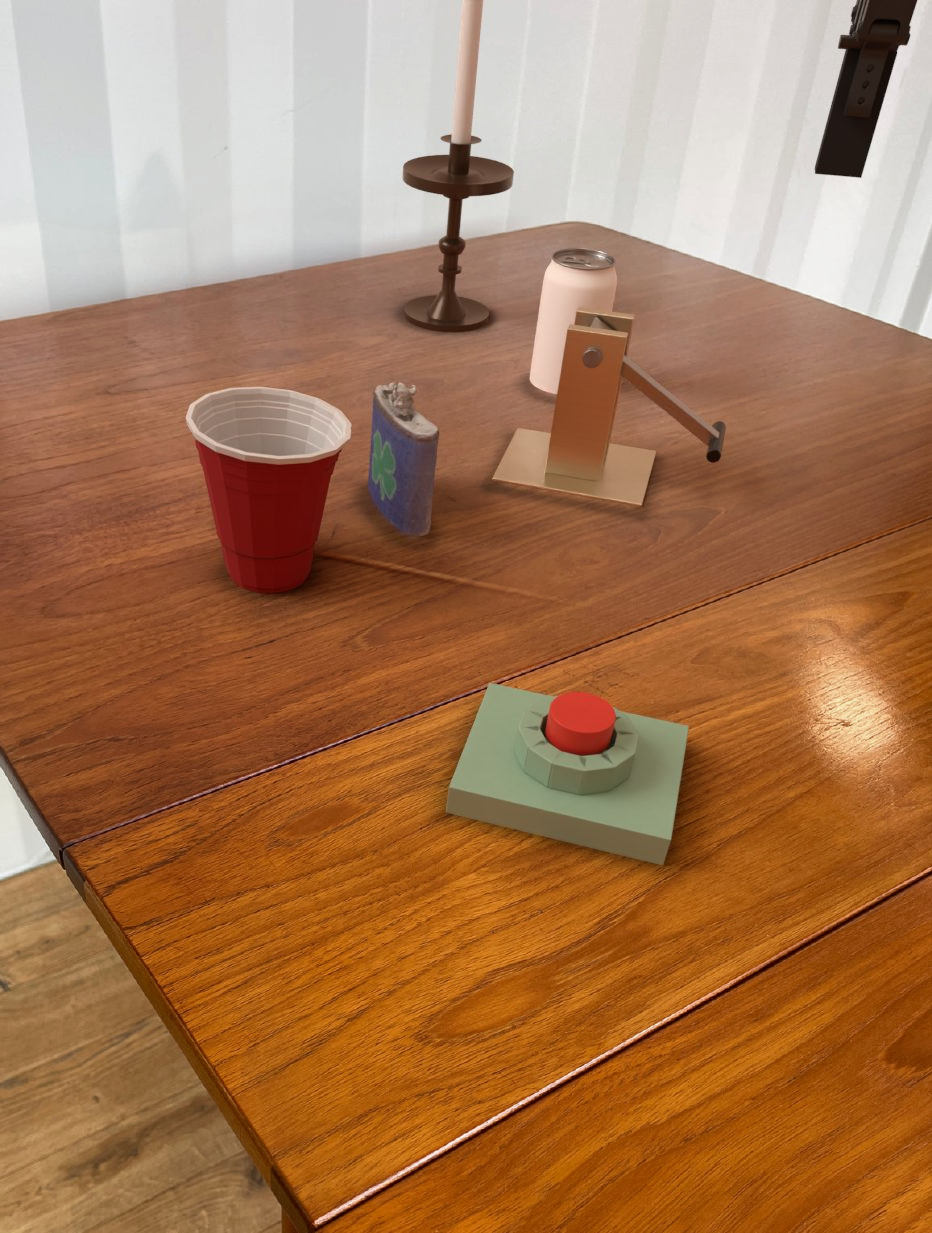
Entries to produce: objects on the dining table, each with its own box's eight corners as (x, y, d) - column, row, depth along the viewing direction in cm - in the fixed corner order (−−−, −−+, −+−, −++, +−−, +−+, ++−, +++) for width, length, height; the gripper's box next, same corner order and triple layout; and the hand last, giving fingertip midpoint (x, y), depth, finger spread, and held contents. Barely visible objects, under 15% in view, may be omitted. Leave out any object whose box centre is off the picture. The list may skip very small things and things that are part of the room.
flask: (435, 544, 84) (447, 407, 77) (399, 550, 83) (408, 412, 76) (390, 488, 90) (398, 357, 83) (356, 493, 90) (361, 361, 83)
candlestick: (444, 293, 125) (477, -105, 101) (517, 321, 119) (571, -94, 95) (373, 315, 119) (391, -102, 96) (447, 346, 113) (485, -90, 90)
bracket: (653, 463, 95) (688, 310, 87) (638, 518, 88) (675, 357, 80) (515, 440, 98) (536, 289, 89) (490, 491, 91) (510, 332, 82)
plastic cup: (359, 611, 77) (366, 448, 69) (201, 621, 76) (190, 456, 68) (335, 532, 85) (338, 377, 77) (192, 540, 84) (180, 383, 76)
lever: (713, 442, 90) (735, 420, 89) (707, 471, 86) (730, 449, 85) (579, 333, 88) (599, 308, 86) (567, 358, 84) (588, 333, 83)
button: (614, 723, 63) (620, 699, 62) (605, 763, 61) (611, 738, 59) (551, 710, 64) (556, 685, 63) (539, 748, 61) (544, 723, 60)
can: (590, 410, 103) (615, 274, 95) (521, 398, 104) (540, 263, 96) (601, 383, 107) (626, 251, 99) (535, 373, 109) (554, 242, 101)
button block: (680, 753, 67) (696, 701, 64) (662, 869, 60) (679, 815, 57) (485, 710, 69) (492, 658, 67) (445, 815, 62) (451, 762, 60)
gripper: (896, -362, 59) (775, 142, 74) (916, -389, 49) (773, 194, 65) (1051, -363, 57) (894, 152, 73) (1102, -391, 48) (910, 207, 64)
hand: (837, 172), depth 69 cm, fingers closed
